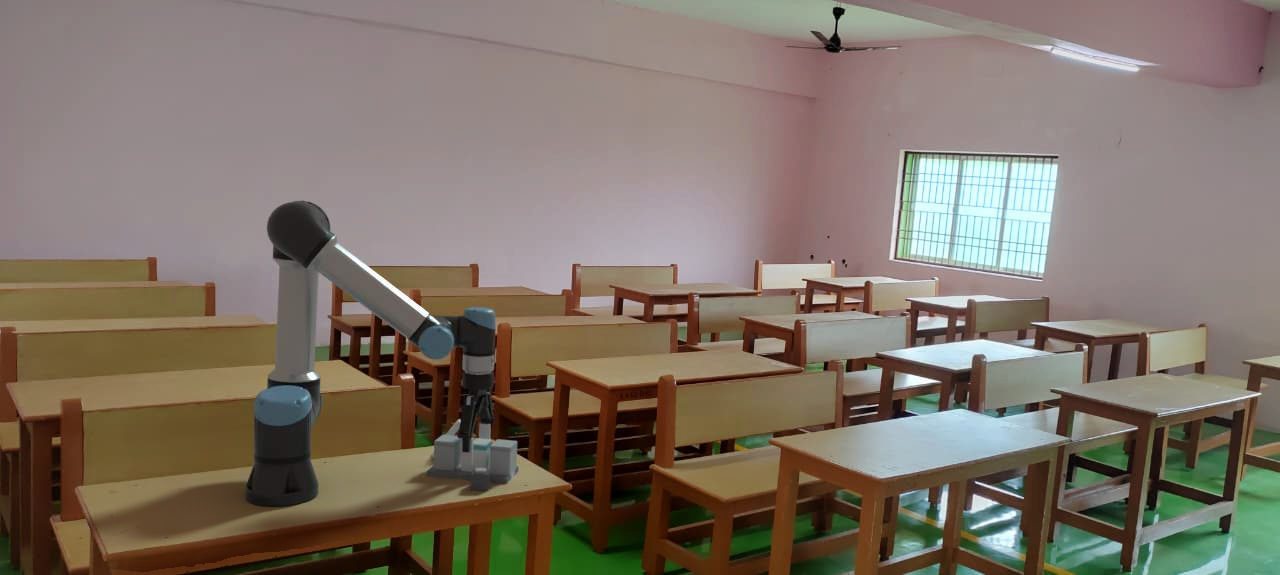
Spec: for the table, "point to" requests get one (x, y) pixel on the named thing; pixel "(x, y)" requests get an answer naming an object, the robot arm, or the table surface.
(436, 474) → the rail board
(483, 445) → the block
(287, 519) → the table surface
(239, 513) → the table surface
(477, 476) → the block
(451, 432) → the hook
